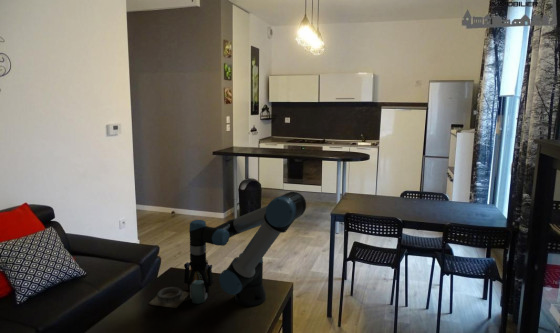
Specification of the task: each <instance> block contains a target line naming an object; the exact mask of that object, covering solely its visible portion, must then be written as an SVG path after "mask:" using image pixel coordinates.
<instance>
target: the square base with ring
mask: <svg viewBox="0 0 560 333" xmlns="http://www.w3.org/2000/svg"><path fill="white" fill-rule="evenodd" d="M188 296H190V291H183V290H182V288H180V287H178V286H177V287H176V286H169V287H164V288H162V289H159V291H158V292H157V295H156V296H155V297H153V299H152V300H151V301H149V303H148V304H149V305H150V306H151V305H152V306H159V307H166V308H174V309H177V308H179V306H181V304H182V303H183V302H184V301H185V298H187V297H188Z"/></svg>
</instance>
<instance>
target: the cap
mask: <svg viewBox="0 0 560 333" xmlns="http://www.w3.org/2000/svg"><path fill="white" fill-rule="evenodd" d="M204 286H205V285H204V282H203V280H194V281H193V282H192V298H191V302H192V304H196V305H200V304H203V303H205V302H206V300H204Z"/></svg>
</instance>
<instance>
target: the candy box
mask: <svg viewBox="0 0 560 333" xmlns="http://www.w3.org/2000/svg"><path fill="white" fill-rule="evenodd" d="M206 263H207V264H208V265H209V259H206ZM191 271H192V268H191V266H190V267H189V275H191ZM205 272H206V275H207V278H208V274H207V267H205ZM194 280H203V279H202V276H201V274H200V272H198V271H196V272H195V275H194V278H193V281H194ZM193 281H192V282H193Z"/></svg>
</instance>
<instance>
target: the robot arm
mask: <svg viewBox="0 0 560 333" xmlns="http://www.w3.org/2000/svg"><path fill="white" fill-rule="evenodd" d="M306 208H307V201H306V199H305V197H304V196H303V195H302V193H300V192H297V191H290V192H285V193H284V194H282V195H280V196H277V197H275V198H273V199H272V200H271V201H269V203H268V204H267V205H265V206H263V207H260V208H257V209H255V210H253V211H250V212H249V213H245V214H244V215H241V216H238V217H236V218H232V219H230V220H227V221H226V222H224V223H222V224H219V225H217V226H216V227H212V226H207V223H206V221H205V220H203V219H195V220H194V219H193V220H191V221H190V223H189V230H188V232H189V262H187V261H186V262H185V263H184V264H183V265H184V279H183V283H184V284H187V290H188V292H190V294H189V298H190V299H192V281H193V278H194V275H195V272H196V271H198V272H200V274H201V276H202V279H203V282H204V285H205V286H204V300H205V301H206V300H207V298H208V293H209V291H210V287H211V286H212V285H213V283H214V282H213V272H212V269H213V265H212V264H209V263H208V264H207V263H206V260H207V252H206V251H207V244H210V245H215V246H221V247H224V246H226V245H227V244H228V242H229V241H230V239H231V237H234V236H236V235H238V234H241V233H244V232H248V231H249V230H252V229H255V228H257V227H259V228H258V229H257V231H256V232H255V234H254V235H253V237H251V239H250V241H249V242H248V244H247V246H246V247H245V248H244V250H243V251H242V252H240V253H239V255H238V256H236V257H234V258H233V260H232V261H231V263H230V264H229V265H228V267H226V269H223V270H222V271H221V273H220V274H219V277H218V281H219V285H220V288H221V289H222V290H223V291H224V292H225V293H226V294H229V295H233V296H234V300H235V302H236V303H237V304H238V305H241V306H246V307H254V306H259V305H261V304H263V303H264V302H265V301H266V300H267V299H266V298H267V296H266V295H267V294H266V291H265V288H264V285H263V277H264V276H263V274H264V272H263V269H264V266H263V265H264V258H263V257H264V256H265V255H266V254H267V252H268V250H270V248H271V247H272V245H273V244H274V243H275V241H276V240H277V238H278V237H279V236H280V234H283V233H286V232H287V231H288V230H289V228H290V227H291V226H292V224H293V223H294V221H295V220H297V219H298V218H300V217H302V215H304V213H305V211H306ZM190 266H191V268H192V271H191V274H190ZM205 267H207V274H208V278H207V275H206V272H205Z"/></svg>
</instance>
